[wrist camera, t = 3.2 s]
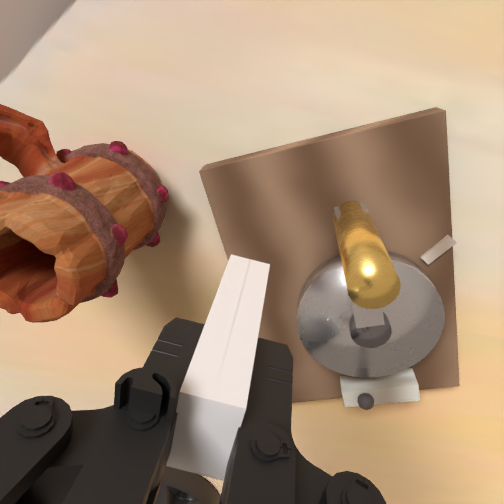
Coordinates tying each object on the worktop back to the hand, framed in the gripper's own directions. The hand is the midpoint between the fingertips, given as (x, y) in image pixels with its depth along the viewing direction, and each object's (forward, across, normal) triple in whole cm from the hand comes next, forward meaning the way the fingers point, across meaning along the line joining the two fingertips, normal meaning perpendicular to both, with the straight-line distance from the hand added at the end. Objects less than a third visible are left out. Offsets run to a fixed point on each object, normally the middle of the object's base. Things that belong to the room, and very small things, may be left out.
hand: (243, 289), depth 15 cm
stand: (+17, +8, -7) cm, 20 cm away
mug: (+17, -13, -3) cm, 22 cm away
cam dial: (+14, +9, -6) cm, 18 cm away
